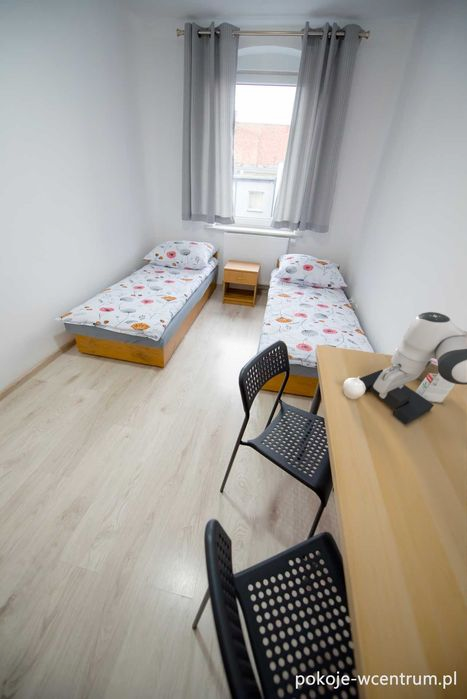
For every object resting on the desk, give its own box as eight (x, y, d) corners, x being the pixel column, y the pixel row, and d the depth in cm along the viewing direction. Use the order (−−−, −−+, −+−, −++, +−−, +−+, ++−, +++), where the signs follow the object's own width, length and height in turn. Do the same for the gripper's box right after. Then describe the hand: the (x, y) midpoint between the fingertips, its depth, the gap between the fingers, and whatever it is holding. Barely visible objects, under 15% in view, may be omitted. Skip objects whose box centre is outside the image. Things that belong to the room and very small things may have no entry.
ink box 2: (414, 393, 100) (435, 361, 92) (436, 396, 100) (459, 364, 92) (418, 400, 97) (441, 367, 89) (441, 403, 97) (465, 371, 89)
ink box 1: (432, 381, 107) (444, 364, 103) (430, 385, 105) (442, 368, 100) (405, 368, 113) (415, 351, 108) (402, 372, 110) (412, 355, 105)
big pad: (429, 411, 93) (434, 404, 91) (405, 425, 87) (410, 418, 85) (378, 375, 107) (382, 369, 105) (355, 384, 100) (358, 378, 98)
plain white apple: (362, 393, 97) (371, 375, 92) (359, 405, 91) (368, 387, 87) (342, 385, 99) (349, 368, 95) (338, 397, 94) (346, 379, 89)
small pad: (405, 404, 92) (410, 396, 90) (394, 410, 89) (400, 401, 87) (379, 385, 99) (384, 377, 97) (369, 390, 96) (373, 381, 94)
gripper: (397, 375, 78) (377, 409, 86) (435, 359, 88) (414, 391, 96) (378, 363, 83) (361, 396, 90) (416, 349, 92) (398, 380, 100)
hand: (389, 393), depth 93 cm, fingers closed on small pad, 6 cm apart
